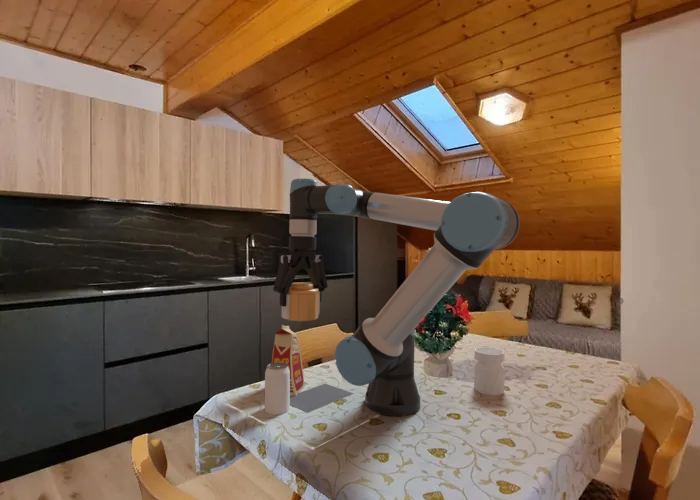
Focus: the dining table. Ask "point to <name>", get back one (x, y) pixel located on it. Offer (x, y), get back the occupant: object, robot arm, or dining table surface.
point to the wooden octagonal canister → (303, 302)
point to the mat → (317, 397)
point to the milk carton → (289, 357)
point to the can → (277, 388)
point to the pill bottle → (489, 371)
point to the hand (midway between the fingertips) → (301, 315)
